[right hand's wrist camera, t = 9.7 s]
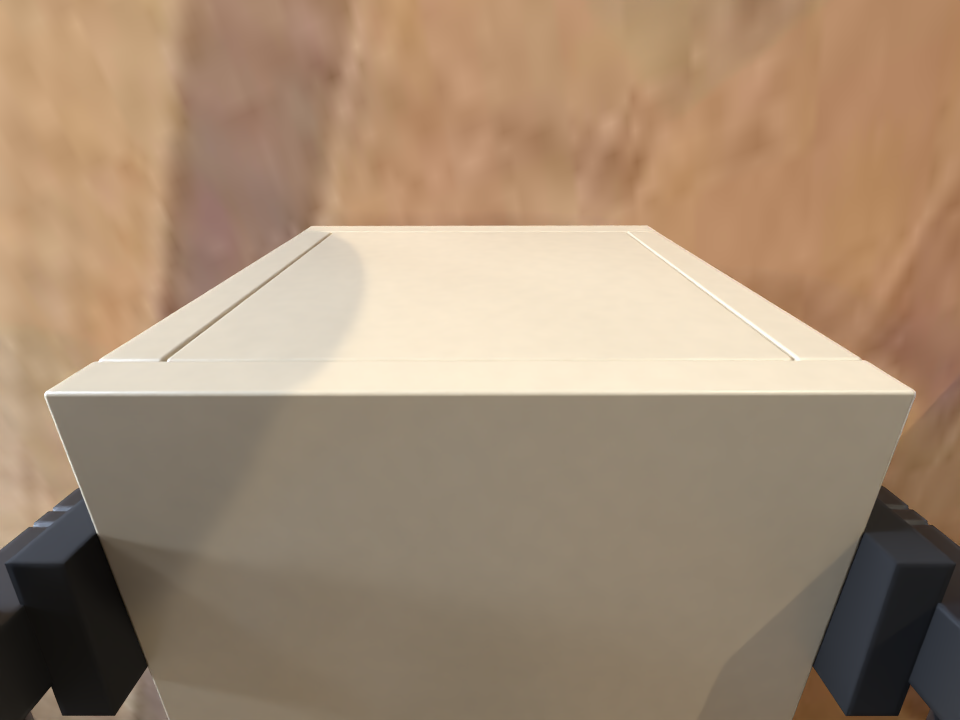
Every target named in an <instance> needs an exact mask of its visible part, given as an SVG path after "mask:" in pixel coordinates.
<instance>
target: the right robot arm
mask: <svg viewBox="0 0 960 720" xmlns="http://www.w3.org/2000/svg"><path fill="white" fill-rule="evenodd" d="M147 667H148V665H147V662H146V660H145V657H144V655H143V652H142V649H141V647H140V644H139V642H138V639H137V636H136V634H135V631H134V629H133V626H132V623H131V621H130V618H129V616H128V613H127V610H126V608H125V605H124V602H123V600H122V597H121V595H120V592H119V589H118V587H117V584H116V582H115V579H114V576H113V574H112V571H111V569H110V566H109V563H108V561H107V558H106V556H105V553H104V550H103V548H102V545H101V543H100V540H99V537H98V535H97V532H96V530H95V527H94V524H93V522H92V519H91V517H90V514H89V511H88V509H87V506H86V503H85V501H84V498H83V496H82V493H81V490H80V488H78V489H76V490H75V491H74V492H72V493H71V494H70V495H69V496H67V497H66V498H65V499H64V500H62V501H61V502H60V503H59V504H57V505H56V506H55V507H54V508H53V511H49V512H47V513H46V514H45V515H44V516H42V517H41V518H40V519H39V520H37V521H36V522H35V523H34V526H33V527H29V528H27V529H26V530H25V531H24V532H22V533H21V534H20V535H18V536H17V537H16V538H15V539H13V540H12V541H11V542H10V543H8V544H7V545H6V546H5V547H3V548H2V549H1V550H0V720H34V718H33V716H32V713H31V710H32V709H33V708H34V706H35V705H36V704H37V703H38V702H39V700H40V699H41V698H42V697H43V696H44V694H45V693H46V692H47V691H48V689H49V688H50V687H52V689H53V692H54V695H55V697H56V700H57V703H58V705H59V708H60V710H61V713H62V716H115V715H116V713H117V712H118V710H119V709H120V707H121V706H122V704H123V703H124V701H125V700H126V698H127V697H128V695H129V694H130V692H131V691H132V689H133V688H134V686H135V685H136V683H137V682H138V680H139V679H140V677H141V676H142V674H143V673H144V671H145V670H146V668H147ZM813 667H814V669H815V670H816V672H817V673H818V675H819V676H820V678H821V679H822V681H823V682H824V684H825V685H826V687H827V688H828V690H829V691H830V693H831V694H832V696H833V697H834V699H835V700H836V702H837V703H838V705H839V706H840V708H841V709H842V711H843V712H844V714H845V715H846V716H898V715H899V713H900V710H901V707H902V705H903V702H904V699H905V697H906V694H907V692H908V689H909V686H910V684H911V686H912V687H913V688H914V689H915V691H916V692H917V693H918V694H919V695H920V697H921V698H922V699H923V700H924V701H925V703H926V704H927V705H928V706H929V707H930V711H929V713H928V716H927V718H926V720H960V547H959V546H958V545H957V544H956V543H954V542H953V541H952V540H951V539H949V538H948V537H947V536H946V535H944V534H943V533H942V532H940V531H939V530H938V529H937V528H935V527H934V526H933V525H928V523H927V520H925V519H924V518H923V517H922V516H920V515H919V514H918V513H917V512H915V511H914V510H909V509H908V505H906V504H905V503H904V502H903V501H901V500H900V499H899V498H898V497H896V496H895V495H894V494H893V493H891V492H890V491H889V490H888V489H886V488H885V487H883V486H881V488H880V490H879V493H878V496H877V498H876V501H875V503H874V506H873V509H872V511H871V514H870V517H869V519H868V522H867V524H866V527H865V530H864V532H863V535H862V538H861V540H860V543H859V545H858V548H857V551H856V553H855V556H854V559H853V561H852V564H851V566H850V569H849V572H848V574H847V577H846V580H845V582H844V585H843V587H842V590H841V593H840V595H839V598H838V601H837V603H836V606H835V608H834V611H833V614H832V616H831V619H830V622H829V624H828V627H827V629H826V632H825V635H824V637H823V640H822V643H821V645H820V648H819V650H818V653H817V656H816V658H815V661H814V664H813Z"/></svg>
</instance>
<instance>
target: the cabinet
mask: <svg viewBox="0 0 960 720" xmlns="http://www.w3.org/2000/svg"><path fill="white" fill-rule="evenodd" d="M915 396H916V392H915V391H914V390H913V389H911V388H910V387H908V386H907V385H905V384H903V383H902V382H900V381H898V380H897V379H895V378H894V377H892V376H890V375H889V374H887V373H885V372H884V371H882V370H881V369H879V368H877V367H876V366H874V365H872V364H871V363H869V362H867V361H862V359H861V358H860V357H858V356H857V355H855V354H853V353H852V352H850V351H849V350H847V349H845V348H844V347H842V346H841V345H839V344H837V343H836V342H834V341H832V340H831V339H829V338H828V337H826V336H824V335H823V334H821V333H820V332H818V331H816V330H815V329H813V328H811V327H810V326H808V325H807V324H805V323H803V322H802V321H800V320H799V319H797V318H795V317H794V316H792V315H790V314H789V313H787V312H786V311H784V310H782V309H781V308H779V307H778V306H776V305H774V304H773V303H771V302H770V301H768V300H766V299H765V298H763V297H761V296H760V295H758V294H757V293H755V292H753V291H752V290H750V289H749V288H747V287H745V286H744V285H742V284H740V283H739V282H737V281H736V280H734V279H732V278H731V277H729V276H728V275H726V274H724V273H723V272H721V271H719V270H718V269H716V268H715V267H713V266H711V265H710V264H708V263H707V262H705V261H703V260H702V259H700V258H698V257H697V256H695V255H694V254H692V253H690V252H689V251H687V250H686V249H684V248H682V247H681V246H679V245H677V244H676V243H674V242H673V241H671V240H669V239H668V238H666V237H665V236H663V235H661V234H660V233H658V232H657V231H655V230H654V229H652V228H650V227H649V226H311V227H310V228H308V229H306V230H305V231H303V232H302V233H301V234H299V235H297V236H296V237H294V238H293V239H291V240H290V241H288V242H286V243H285V244H283V245H282V246H280V247H278V248H277V249H275V250H274V251H272V252H270V253H269V254H267V255H266V256H264V257H262V258H261V259H259V260H258V261H256V262H254V263H253V264H251V265H250V266H248V267H246V268H245V269H243V270H242V271H240V272H238V273H237V274H235V275H234V276H232V277H230V278H229V279H227V280H226V281H224V282H222V283H221V284H219V285H218V286H216V287H214V288H213V289H211V290H210V291H208V292H206V293H205V294H203V295H202V296H200V297H198V298H197V299H195V300H194V301H192V302H190V303H189V304H187V305H186V306H184V307H183V308H181V309H179V310H178V311H176V312H175V313H173V314H171V315H170V316H168V317H167V318H165V319H163V320H162V321H160V322H159V323H157V324H155V325H154V326H152V327H151V328H149V329H147V330H146V331H144V332H143V333H141V334H139V335H138V336H136V337H135V338H133V339H131V340H130V341H128V342H127V343H125V344H123V345H122V346H120V347H119V348H117V349H115V350H114V351H112V352H111V353H109V354H107V355H106V356H104V357H103V358H101V359H100V360H99V362H93V363H91V364H90V365H88V366H86V367H85V368H83V369H82V370H80V371H78V372H77V373H75V374H74V375H72V376H70V377H69V378H67V379H66V380H64V381H62V382H61V383H59V384H58V385H56V386H54V387H53V388H51V389H50V390H48V391H46V392H45V396H44V397H45V399H46V402H47V404H48V407H49V410H50V412H51V415H52V418H53V420H54V423H55V425H56V428H57V431H58V433H59V436H60V438H61V441H62V444H63V446H64V449H65V451H66V454H67V457H68V459H69V462H70V464H71V467H72V470H73V472H74V475H75V477H76V480H77V483H78V485H79V488H80V490H81V493H82V496H83V498H84V501H85V503H86V506H87V509H88V511H89V514H90V517H91V519H92V522H93V524H94V527H95V530H96V532H97V535H98V537H99V540H100V543H101V545H102V548H103V550H104V553H105V556H106V558H107V561H108V563H109V566H110V569H111V571H112V574H113V576H114V579H115V582H116V584H117V587H118V589H119V592H120V595H121V597H122V600H123V602H124V605H125V608H126V610H127V613H128V616H129V618H130V621H131V623H132V626H133V629H134V631H135V634H136V636H137V639H138V642H139V644H140V647H141V649H142V652H143V655H144V657H145V660H146V662H147V665H148V668H149V670H150V673H151V675H152V678H153V681H154V683H155V686H156V688H157V691H158V694H159V696H160V699H161V701H162V704H163V707H164V709H165V712H166V714H167V717H168V720H792V719H793V716H794V713H795V711H796V708H797V706H798V703H799V700H800V698H801V695H802V692H803V690H804V687H805V685H806V682H807V679H808V677H809V674H810V671H811V669H812V666H813V664H814V661H815V658H816V656H817V653H818V650H819V648H820V645H821V643H822V640H823V637H824V635H825V632H826V629H827V627H828V624H829V622H830V619H831V616H832V614H833V611H834V608H835V606H836V603H837V601H838V598H839V595H840V593H841V590H842V587H843V585H844V582H845V580H846V577H847V574H848V572H849V569H850V566H851V564H852V561H853V559H854V556H855V553H856V551H857V548H858V545H859V543H860V540H861V538H862V535H863V532H864V530H865V527H866V524H867V522H868V519H869V517H870V514H871V511H872V509H873V506H874V503H875V501H876V498H877V496H878V493H879V490H880V488H881V485H882V482H883V480H884V477H885V475H886V472H887V469H888V467H889V464H890V461H891V459H892V456H893V454H894V451H895V448H896V446H897V443H898V440H899V438H900V435H901V433H902V430H903V427H904V425H905V422H906V419H907V417H908V414H909V412H910V409H911V406H912V404H913V401H914V398H915Z"/></svg>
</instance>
